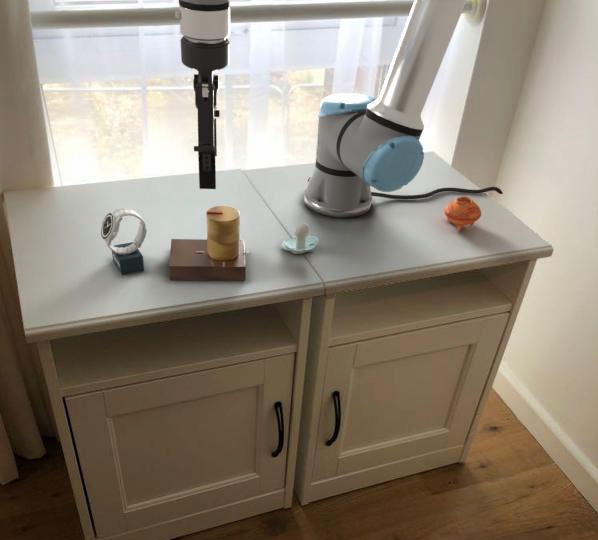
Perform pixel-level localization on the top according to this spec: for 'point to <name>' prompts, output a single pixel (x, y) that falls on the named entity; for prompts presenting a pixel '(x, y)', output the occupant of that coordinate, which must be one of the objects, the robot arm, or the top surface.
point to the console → (203, 262)
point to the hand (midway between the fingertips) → (208, 171)
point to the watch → (127, 253)
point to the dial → (223, 232)
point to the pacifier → (300, 241)
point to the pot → (462, 212)
